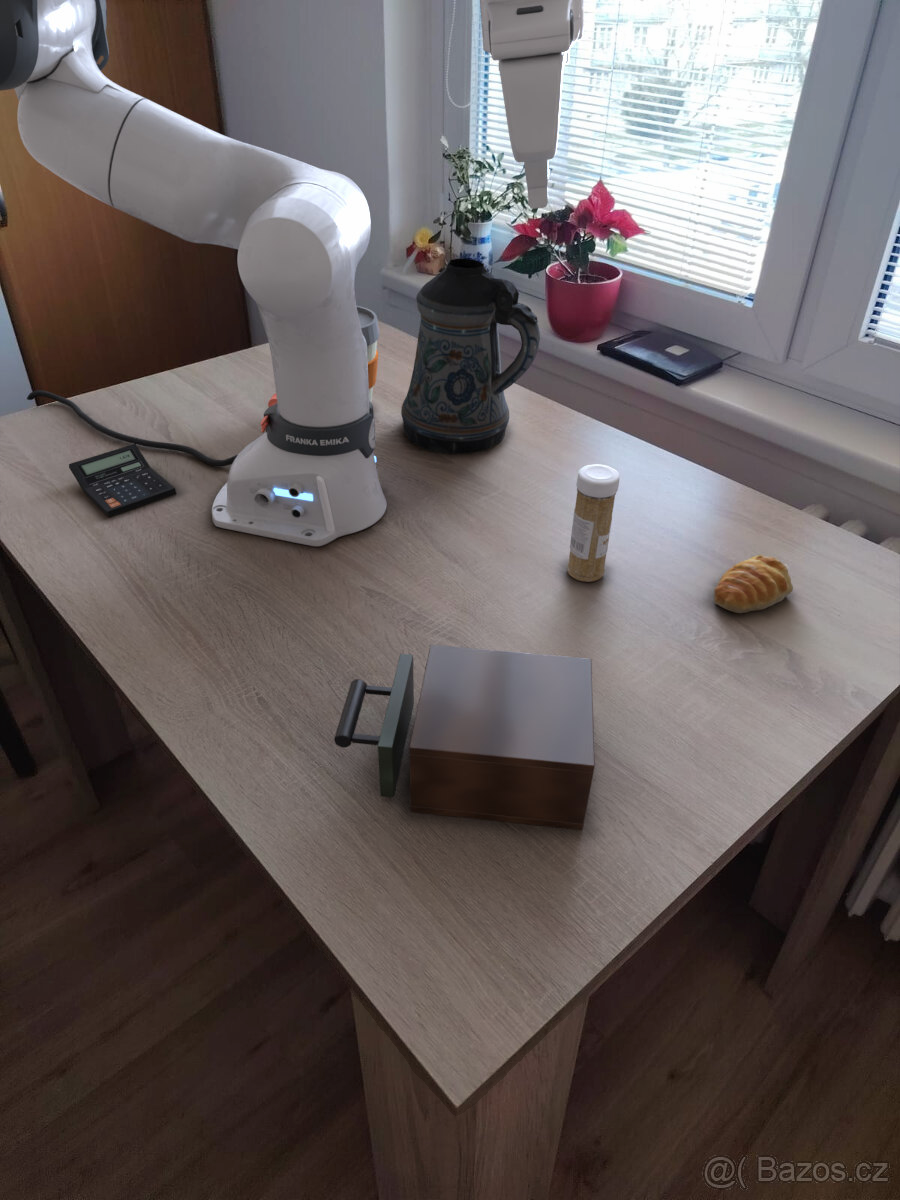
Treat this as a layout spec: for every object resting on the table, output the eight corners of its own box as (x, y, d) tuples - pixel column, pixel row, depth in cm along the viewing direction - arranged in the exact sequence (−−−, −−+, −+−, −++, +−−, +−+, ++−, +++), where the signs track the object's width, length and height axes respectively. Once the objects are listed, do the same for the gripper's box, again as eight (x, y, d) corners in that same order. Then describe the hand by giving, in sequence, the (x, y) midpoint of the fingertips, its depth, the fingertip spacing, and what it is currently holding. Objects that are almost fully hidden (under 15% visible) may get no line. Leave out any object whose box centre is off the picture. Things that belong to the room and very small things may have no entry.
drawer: (331, 791, 71) (325, 741, 67) (358, 698, 80) (354, 649, 76) (538, 813, 69) (545, 763, 66) (542, 715, 78) (548, 666, 74)
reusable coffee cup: (378, 429, 127) (375, 333, 118) (297, 427, 127) (287, 331, 118) (385, 395, 137) (382, 304, 128) (309, 393, 137) (301, 302, 128)
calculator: (108, 517, 106) (103, 497, 104) (73, 482, 113) (67, 462, 111) (176, 493, 111) (172, 474, 109) (138, 461, 118) (134, 442, 116)
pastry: (745, 627, 91) (753, 600, 88) (696, 598, 95) (702, 571, 92) (794, 595, 95) (803, 568, 93) (745, 569, 100) (752, 542, 97)
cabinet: (410, 812, 70) (409, 747, 65) (430, 707, 80) (430, 644, 75) (582, 830, 69) (594, 765, 64) (581, 721, 79) (591, 658, 74)
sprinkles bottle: (610, 580, 97) (626, 480, 89) (573, 585, 96) (586, 484, 88) (596, 559, 101) (610, 460, 92) (560, 563, 100) (572, 464, 91)
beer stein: (400, 408, 133) (397, 245, 118) (520, 407, 134) (532, 245, 119) (402, 456, 120) (398, 280, 105) (534, 455, 121) (550, 281, 106)
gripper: (502, 17, 80) (511, 173, 89) (488, 37, 64) (501, 225, 73) (567, 9, 79) (570, 167, 88) (570, 26, 63) (573, 218, 72)
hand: (539, 194), depth 80 cm, fingers open, 8 cm apart
